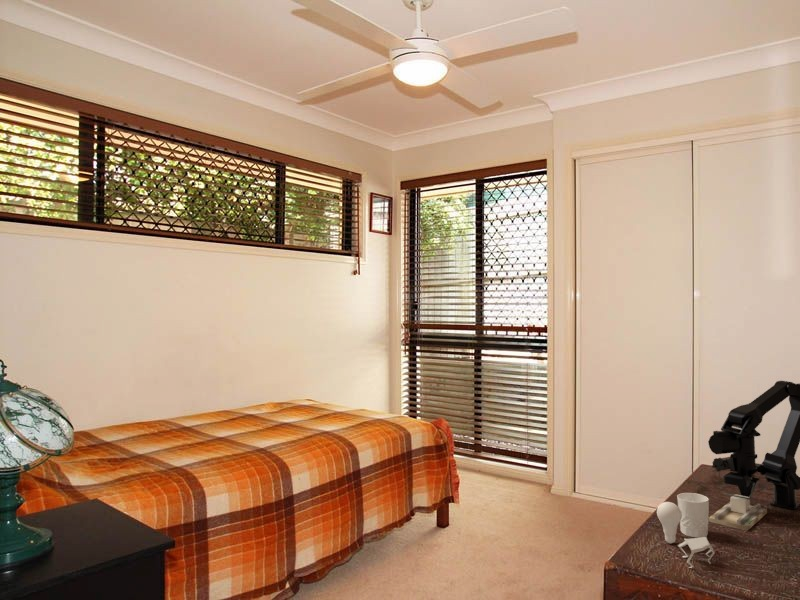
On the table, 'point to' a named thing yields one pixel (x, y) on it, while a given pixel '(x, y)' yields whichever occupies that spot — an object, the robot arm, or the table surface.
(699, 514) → the white cup
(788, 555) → the table surface
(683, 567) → the table surface
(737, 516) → the board
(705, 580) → the table surface
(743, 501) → the tuning slider
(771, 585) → the table surface
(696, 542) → the origami figure
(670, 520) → the lightbulb
